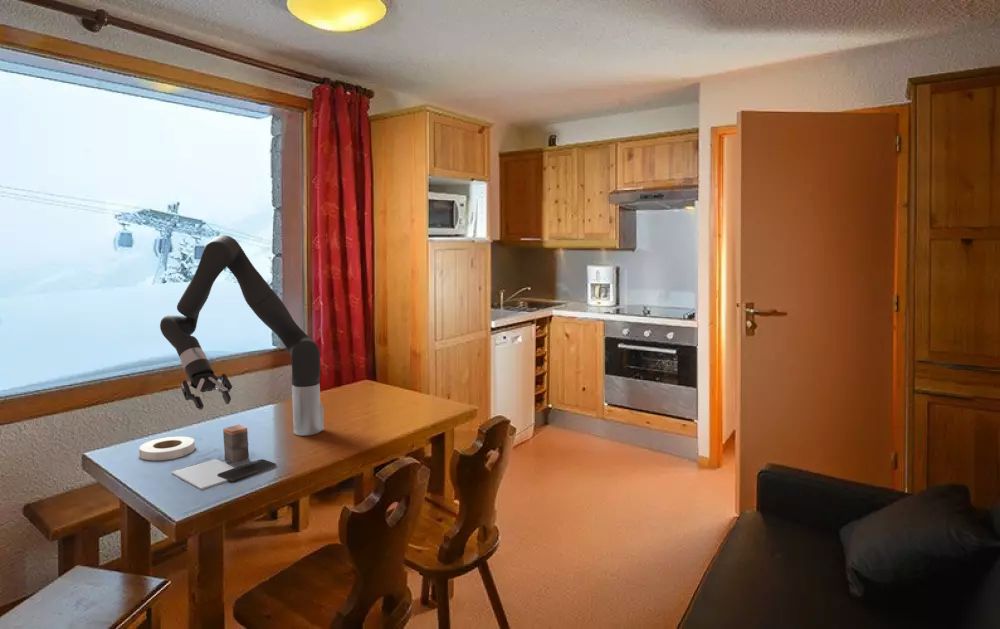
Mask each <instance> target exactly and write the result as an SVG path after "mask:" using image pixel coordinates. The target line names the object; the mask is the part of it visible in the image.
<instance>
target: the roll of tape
mask: <svg viewBox="0 0 1000 629" xmlns="http://www.w3.org/2000/svg"><path fill="white" fill-rule="evenodd" d="M195 443H196V442H195V439H194V438H193V437H189V436H182V435H181V436H168V437H167V436H166V437H160V438H156V439H152V440H149V441H146V442H144V443H142V444H141V445H140V446H139V448H138V452H139V457H140V459H142V460H147V461H164V460H165V461H166V460H171V459H177V458H181V457H184V456H186V455H188V454H191V453H192V452H193V451H194V450H195V449H196V444H195Z"/></svg>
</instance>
